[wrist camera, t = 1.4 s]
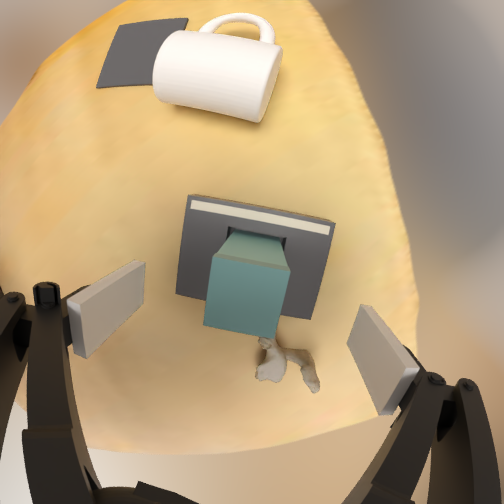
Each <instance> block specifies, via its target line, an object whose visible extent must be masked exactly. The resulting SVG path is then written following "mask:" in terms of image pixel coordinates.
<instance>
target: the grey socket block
mask: <svg viewBox="0 0 504 504" xmlns="http://www.w3.org/2000/svg"><path fill="white" fill-rule="evenodd" d="M335 224H336V223H334V222H332V221H330V220H327V219H322V218H318V217H313V216H308V215H304V214H299V213H294V212H289V211H284V210H280V209H275V208H269V207H264V206H259V205H254V204H248V203H243V202H237V201H232V200H226V199H220V198H215V197H209V196H202V195H196V194H195V195H188V198H187V204H186V211H185V218H184V225H183V232H182V239H181V247H180V255H179V264H178V273H177V283H176V294H178V295H183V296H187V297H191V298H196V299H201V300H205V301H206V299H207V292H208V285H209V278H210V271H211V264H212V257H213V255H214V254H215V253H217V252H218V251H219V250H220V248H221V247H222V246H223V244H224V243H225V242H226V240H227V239H228V238H229V237H230V235H231V234H232V233H233V231H234V230H235V229H238V230H244V231H249V232H254V233H259V234H265V235H270V236H275V237H279V239H280V242H281V245H282V249H283V252H284V255H285V259H286V262H287V265H288V267H289V268H290V271H291V272H290V276H289V280H288V284H287V289H286V293H285V297H284V301H283V305H282V309H281V313H280V315H284V316H290V317H296V318H302V319H309V320H311V317H312V313H313V310H314V306H315V303H316V299H317V296H318V292H319V289H320V285H321V281H322V277H323V274H324V270H325V266H326V262H327V258H328V254H329V250H330V246H331V241H332V237H333V233H334V228H335Z"/></svg>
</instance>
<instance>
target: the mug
mask: <svg viewBox="0 0 504 504" xmlns="http://www.w3.org/2000/svg"><path fill="white" fill-rule="evenodd" d="M232 22H241V23H249V24H253V25H256V26H258V28H259V30H260V40H259V41H257V40H252V39H247V38H242V37H236V36H230V35H223V34H216V33H214V32H215V31H216V30H217V29H218V28H219V27H220V26H222V25H224V24H226V23H232ZM274 44H275V32H274V29H273V27H272V26H271V24H270V23H269V22H268V21H266V20H265V19H263V18H261V17H259V16H257V15H254V14H249V13H232V14H227V15H223V16H220V17H217V18H214V19H212V20H211V21H209V22H207V23H206V24H205V25H204V26H203V27H202V28H201V29H200V30H199V31H185V30H179V31H176V32H174V33H172V34H171V35H170V36H168V38H167V39H166V40H165V41H164V43H163V44H162V46H161V47H160V49H159V52H158V54H157V57H156V60H155V63H154V68H153V89H154V93H155V95H156V97H157V98H158V99H159V100H160V101H161V102H164V103H169V104H175V105H181V106H187V107H192V108H197V109H202V110H207V111H212V112H216V113H220V114H225V115H229V116H233V117H237V118H241V119H245V120H248V121H252V122H256V123H258V122H260V121H261V119H262V118H263V116H264V113H265V111H266V109H267V106H268V103H269V101H270V98H271V95H272V92H273V89H274V86H275V82H276V79H277V76H278V72H279V68H280V64H281V60H282V54H283V49H282V47H281V46H278V45H274Z"/></svg>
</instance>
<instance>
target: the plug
mask: <svg viewBox="0 0 504 504" xmlns="http://www.w3.org/2000/svg"><path fill="white" fill-rule="evenodd" d="M290 272H291V271H290V268H289V267H288V265H287V262H286V259H285V255H284V252H283V249H282V245H281V242H280V239H279V237H275V236H270V235H265V234H259V233H254V232H249V231H244V230H238V229H235V230H234V231H233V233H232V234H231V235H230V237H229V238H228V239H227V240H226V242H225V243H224V244H223V246H222V247H221V248H220V250H219V251H218V252H217V253H215V254H214V255H213V257H212V264H211V271H210V278H209V285H208V292H207V299H206V306H205V314H204V322H203V325H205V326H209V327H214V328H218V329H223V330H228V331H233V332H238V333H244V334H249V335H255V336H260V337H266V338H272V339H274V336H275V332H276V329H277V325H278V321H279V317H280V313H281V309H282V305H283V301H284V297H285V293H286V289H287V284H288V280H289V276H290Z"/></svg>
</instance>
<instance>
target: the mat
mask: <svg viewBox="0 0 504 504" xmlns="http://www.w3.org/2000/svg"><path fill="white" fill-rule="evenodd" d="M187 22H188V18H175V19H162V20H152V21H144V22H137V23H130V24H124V25H119V27H118V30H117V32H116V34H115V37H114V39H113V41H112V44H111V46H110V49H109V51H108V54H107V56H106V59H105V62H104V65H103V67H102V70H101V73H100V76H99V79H98V82H97V86H96V88H106V87H119V86H137V85H153V68H154V63H155V60H156V57H157V54H158V52H159V49H160V47H161V46H162V44H163V43H164V41H165V40H166V39H167V38H168V36H170V35H171V34H172V33H174V32H176V31H179V30H185V27H186V25H187Z"/></svg>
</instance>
